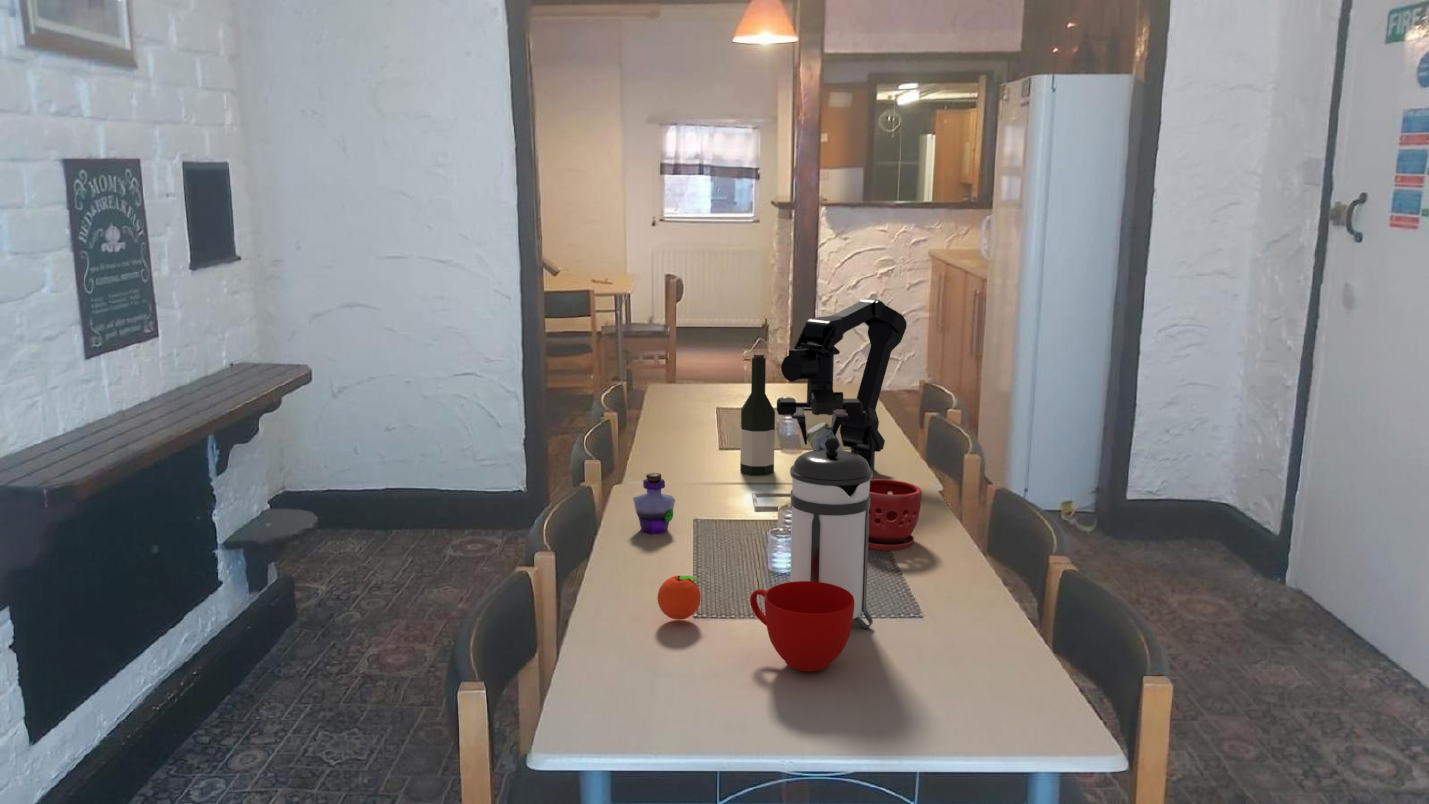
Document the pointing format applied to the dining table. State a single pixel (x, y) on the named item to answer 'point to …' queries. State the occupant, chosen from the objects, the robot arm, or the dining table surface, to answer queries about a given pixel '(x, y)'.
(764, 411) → the wine bottle
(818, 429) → the beverage can
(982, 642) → the dining table surface
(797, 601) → the ceramic cup
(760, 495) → the board
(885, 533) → the plant pot
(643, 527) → the potion bottle
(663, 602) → the clementine
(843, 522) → the coffee press
